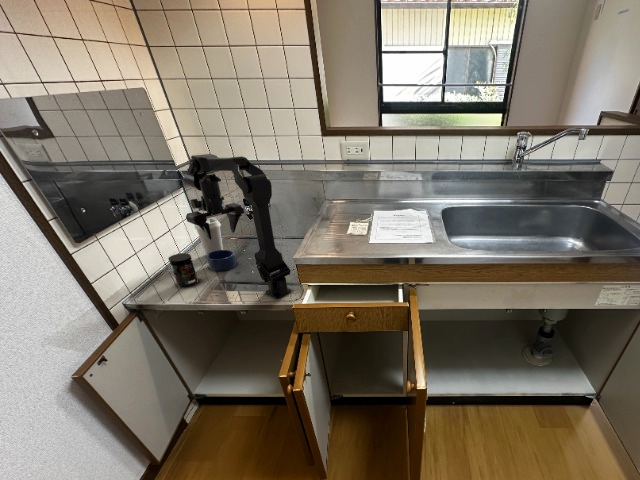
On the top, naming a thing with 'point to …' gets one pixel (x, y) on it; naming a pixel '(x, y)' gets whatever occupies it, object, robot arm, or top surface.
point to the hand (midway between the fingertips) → (221, 235)
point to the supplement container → (183, 269)
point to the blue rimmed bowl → (221, 260)
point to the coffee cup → (215, 236)
